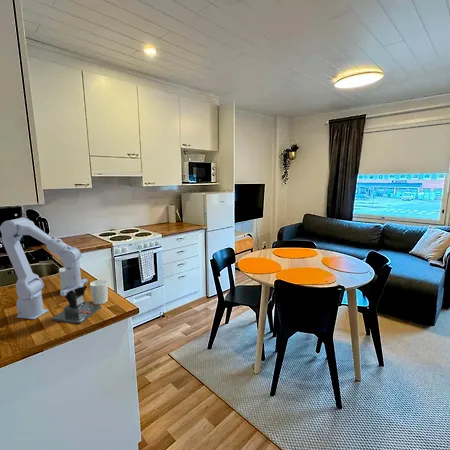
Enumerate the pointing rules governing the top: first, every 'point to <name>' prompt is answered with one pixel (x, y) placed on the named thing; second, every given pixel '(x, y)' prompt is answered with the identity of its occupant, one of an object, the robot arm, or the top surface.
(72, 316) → the gray frame
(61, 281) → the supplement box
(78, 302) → the steel column
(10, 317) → the top surface
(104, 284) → the white cup
